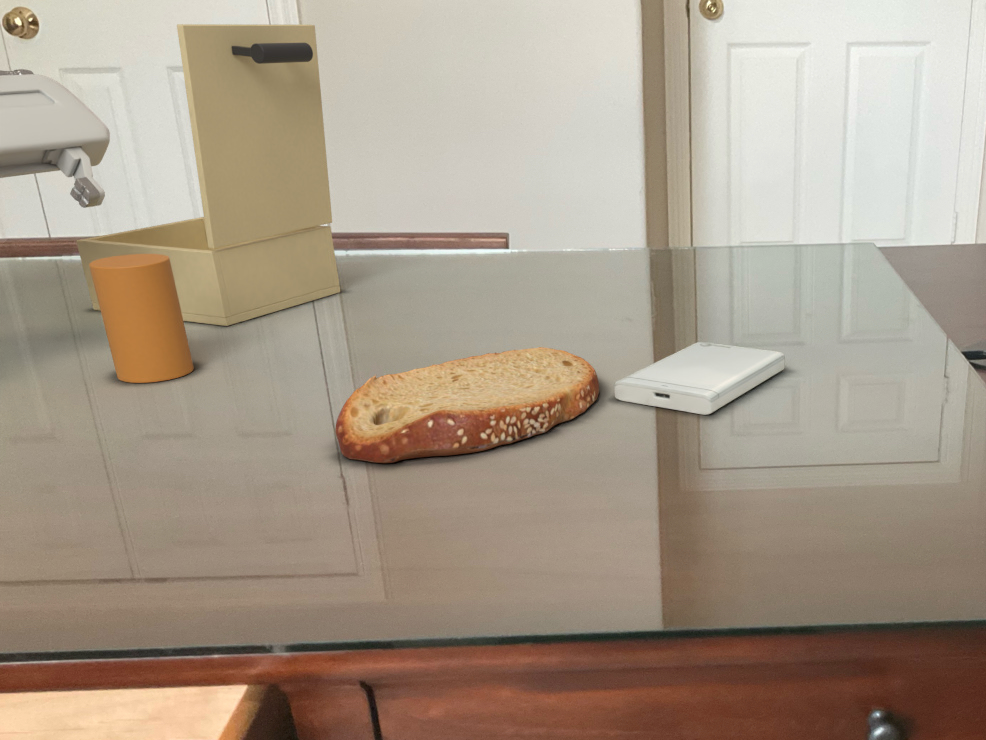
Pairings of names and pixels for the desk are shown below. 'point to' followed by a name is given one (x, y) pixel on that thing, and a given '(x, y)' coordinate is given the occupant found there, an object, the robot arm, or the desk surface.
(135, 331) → the orange cylinder
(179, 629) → the desk surface
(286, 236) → the breadbox
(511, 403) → the slice of bread
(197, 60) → the lid
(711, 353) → the hard drive
